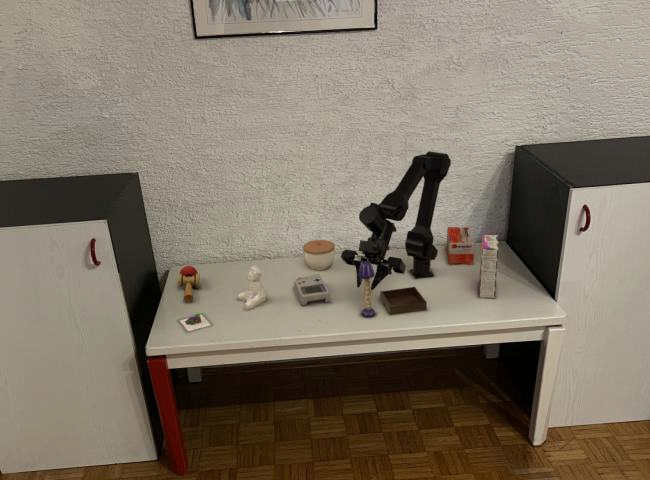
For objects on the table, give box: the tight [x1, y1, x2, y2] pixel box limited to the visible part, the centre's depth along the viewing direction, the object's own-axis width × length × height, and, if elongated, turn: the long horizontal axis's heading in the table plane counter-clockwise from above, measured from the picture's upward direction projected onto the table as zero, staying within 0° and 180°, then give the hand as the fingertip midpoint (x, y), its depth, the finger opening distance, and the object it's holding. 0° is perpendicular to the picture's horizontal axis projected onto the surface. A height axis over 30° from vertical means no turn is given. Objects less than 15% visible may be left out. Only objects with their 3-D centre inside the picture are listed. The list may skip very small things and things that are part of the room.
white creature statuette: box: [238, 264, 268, 310], centre depth 214 cm, size 10×9×12 cm
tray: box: [379, 286, 428, 316], centre depth 210 cm, size 11×11×3 cm
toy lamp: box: [358, 261, 376, 318], centre depth 202 cm, size 5×5×17 cm
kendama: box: [177, 265, 201, 303], centre depth 225 cm, size 8×6×18 cm
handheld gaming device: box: [293, 273, 331, 306], centre depth 218 cm, size 9×15×4 cm, turn 12°
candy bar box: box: [478, 234, 499, 299], centre depth 211 cm, size 11×5×16 cm, turn 168°
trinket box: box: [302, 239, 336, 271], centre depth 236 cm, size 11×11×9 cm
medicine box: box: [446, 226, 475, 265], centre depth 238 cm, size 15×8×8 cm, turn 174°
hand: (364, 288), depth 200 cm, fingers closed on toy lamp, 4 cm apart
